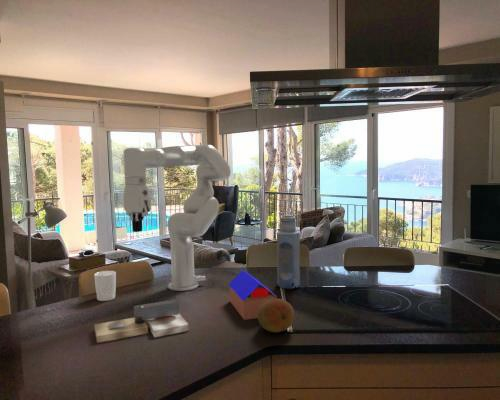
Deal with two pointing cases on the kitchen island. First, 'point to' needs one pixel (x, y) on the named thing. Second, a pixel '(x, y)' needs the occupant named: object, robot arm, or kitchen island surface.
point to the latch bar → (155, 310)
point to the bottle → (288, 253)
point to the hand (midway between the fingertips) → (137, 231)
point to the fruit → (276, 315)
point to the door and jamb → (140, 328)
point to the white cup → (105, 285)
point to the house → (248, 295)
